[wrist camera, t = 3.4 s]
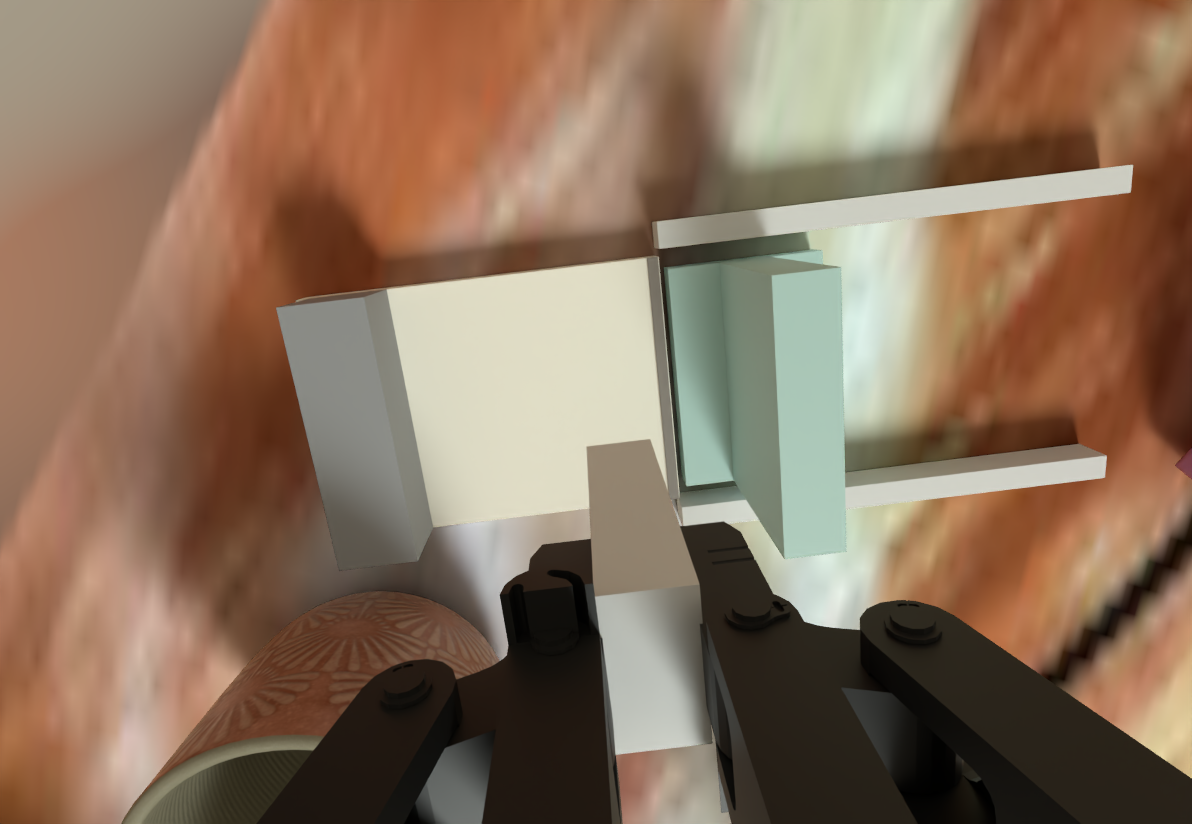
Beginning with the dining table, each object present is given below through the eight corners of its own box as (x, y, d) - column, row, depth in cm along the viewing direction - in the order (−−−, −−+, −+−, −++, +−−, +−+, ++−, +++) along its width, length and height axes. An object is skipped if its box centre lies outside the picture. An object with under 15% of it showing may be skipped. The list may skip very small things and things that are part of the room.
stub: (681, 476, 30) (723, 566, 22) (663, 267, 27) (702, 284, 19) (817, 459, 30) (908, 544, 22) (811, 249, 27) (910, 258, 19)
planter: (209, 704, 32) (33, 939, 21) (354, 509, 30) (236, 664, 19) (429, 827, 34) (368, 1093, 24) (579, 655, 32) (583, 865, 22)
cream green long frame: (365, 552, 30) (333, 602, 26) (299, 263, 27) (251, 270, 23) (1077, 465, 30) (1155, 501, 26) (1101, 168, 27) (1194, 157, 23)
